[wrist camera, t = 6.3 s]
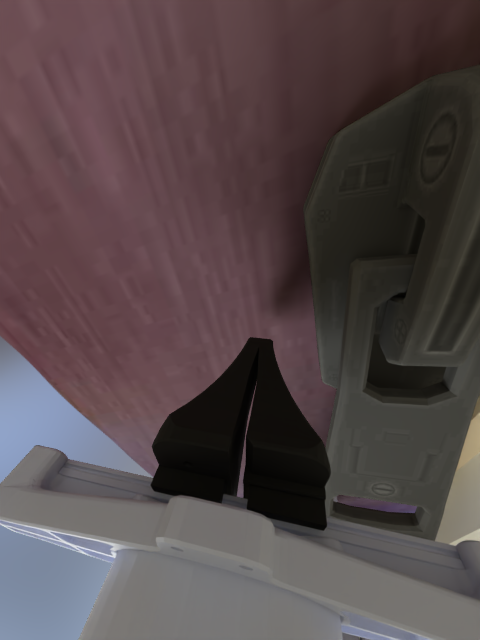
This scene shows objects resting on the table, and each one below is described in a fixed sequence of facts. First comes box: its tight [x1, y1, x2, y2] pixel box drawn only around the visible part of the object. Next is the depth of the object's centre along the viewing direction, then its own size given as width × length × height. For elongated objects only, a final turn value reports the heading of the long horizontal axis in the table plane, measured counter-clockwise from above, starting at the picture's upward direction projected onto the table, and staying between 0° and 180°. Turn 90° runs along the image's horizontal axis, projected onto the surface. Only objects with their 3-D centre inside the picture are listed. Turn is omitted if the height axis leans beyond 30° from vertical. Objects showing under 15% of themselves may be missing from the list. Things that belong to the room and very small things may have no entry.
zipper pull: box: [303, 65, 480, 541], centre depth 12 cm, size 9×7×25 cm
